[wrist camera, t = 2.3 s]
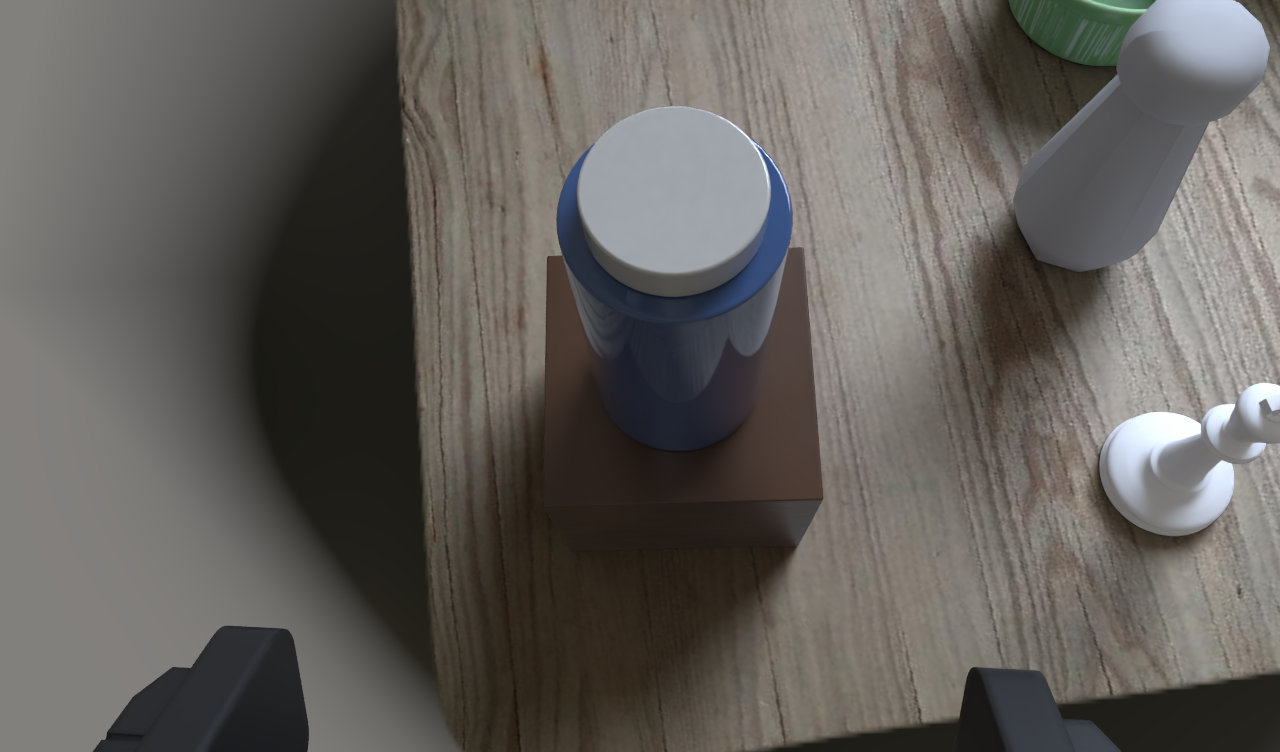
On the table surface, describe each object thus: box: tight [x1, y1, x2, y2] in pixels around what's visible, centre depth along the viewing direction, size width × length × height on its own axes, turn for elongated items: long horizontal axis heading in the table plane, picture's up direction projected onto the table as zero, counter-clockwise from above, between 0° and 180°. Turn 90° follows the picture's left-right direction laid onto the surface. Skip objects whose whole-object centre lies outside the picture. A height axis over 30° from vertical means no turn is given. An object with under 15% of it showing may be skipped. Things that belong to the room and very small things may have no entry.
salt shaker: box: [1013, 0, 1270, 272], centre depth 38 cm, size 6×6×13 cm
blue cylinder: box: [557, 106, 793, 451], centre depth 29 cm, size 6×6×12 cm
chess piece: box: [1099, 383, 1280, 536], centre depth 36 cm, size 5×5×10 cm
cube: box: [543, 247, 823, 551], centre depth 38 cm, size 9×9×8 cm
